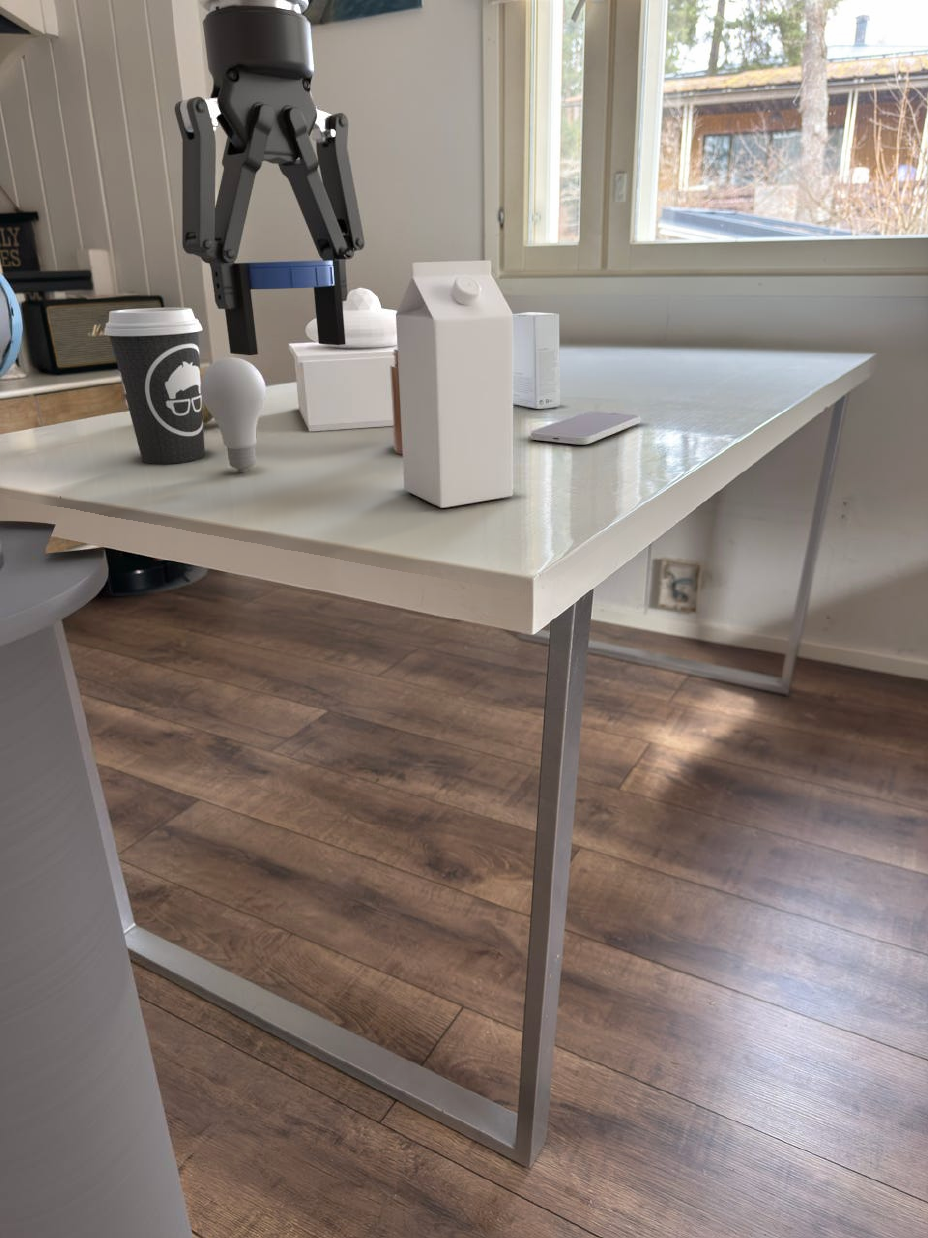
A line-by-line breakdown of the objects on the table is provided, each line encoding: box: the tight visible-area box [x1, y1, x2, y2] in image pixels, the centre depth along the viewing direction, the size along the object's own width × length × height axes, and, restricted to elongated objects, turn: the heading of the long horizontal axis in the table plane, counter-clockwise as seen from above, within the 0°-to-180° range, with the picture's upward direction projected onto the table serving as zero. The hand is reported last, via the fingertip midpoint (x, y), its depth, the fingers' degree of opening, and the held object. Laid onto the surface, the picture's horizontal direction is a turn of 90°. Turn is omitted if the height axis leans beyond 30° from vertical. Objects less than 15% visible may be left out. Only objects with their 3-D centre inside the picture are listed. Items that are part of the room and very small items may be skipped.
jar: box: [390, 348, 403, 456], centre depth 92 cm, size 8×8×11 cm
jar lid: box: [235, 260, 335, 290], centre depth 68 cm, size 8×8×2 cm
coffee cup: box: [103, 307, 206, 465], centre depth 90 cm, size 10×10×15 cm
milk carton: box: [396, 259, 514, 509], centre depth 72 cm, size 7×7×19 cm
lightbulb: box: [200, 356, 267, 473], centre depth 84 cm, size 6×6×11 cm
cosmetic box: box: [513, 311, 561, 410], centre depth 116 cm, size 6×4×12 cm
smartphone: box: [530, 410, 641, 445], centre depth 100 cm, size 7×1×15 cm
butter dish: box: [288, 287, 398, 433], centre depth 112 cm, size 18×18×16 cm
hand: (289, 348), depth 70 cm, fingers closed on jar lid, 8 cm apart
